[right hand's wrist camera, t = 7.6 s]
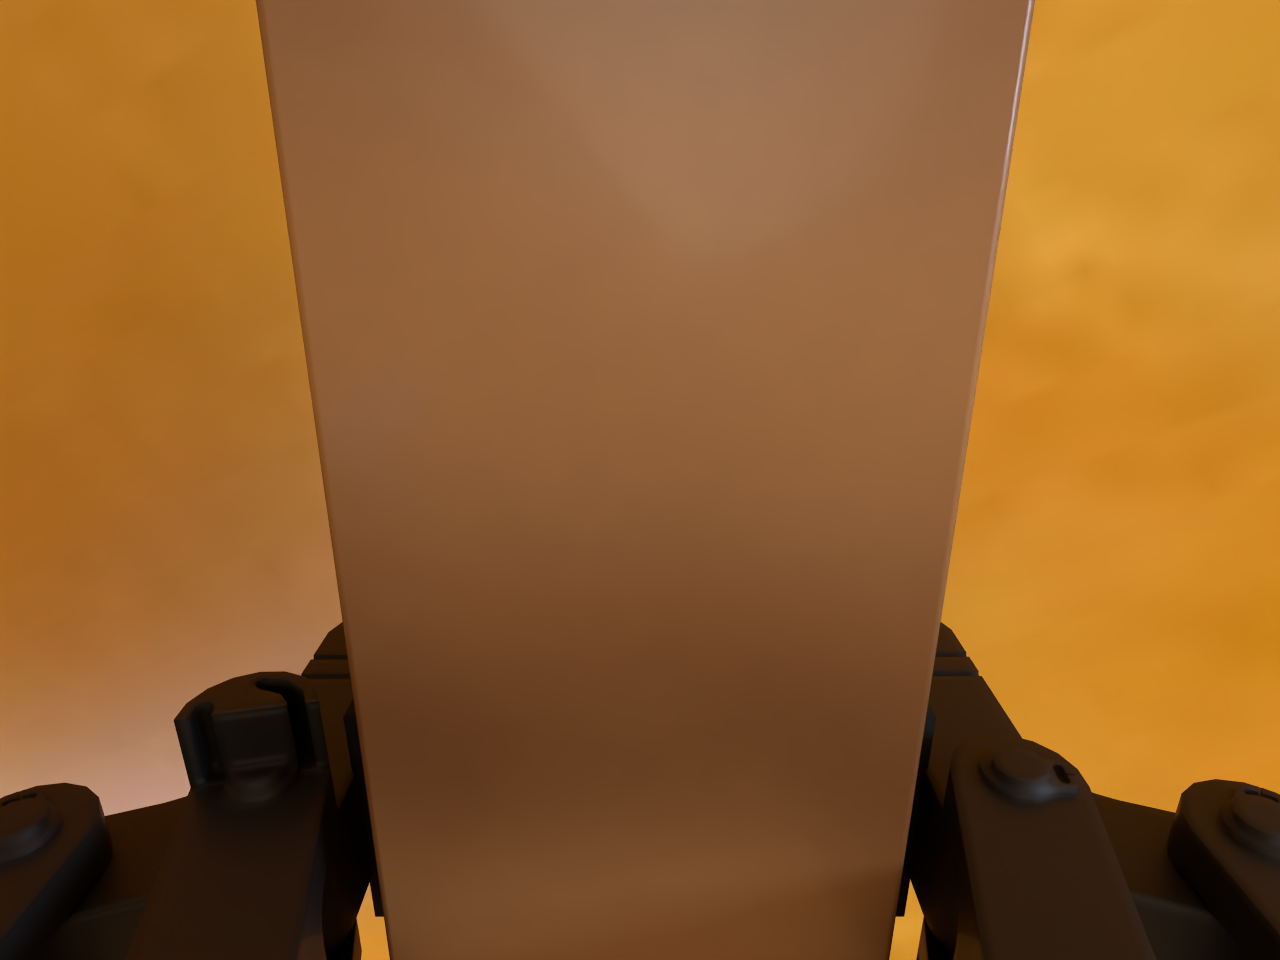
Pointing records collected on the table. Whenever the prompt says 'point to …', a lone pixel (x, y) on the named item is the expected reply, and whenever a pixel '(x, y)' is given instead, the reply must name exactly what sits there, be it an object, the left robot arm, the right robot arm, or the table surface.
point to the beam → (642, 444)
